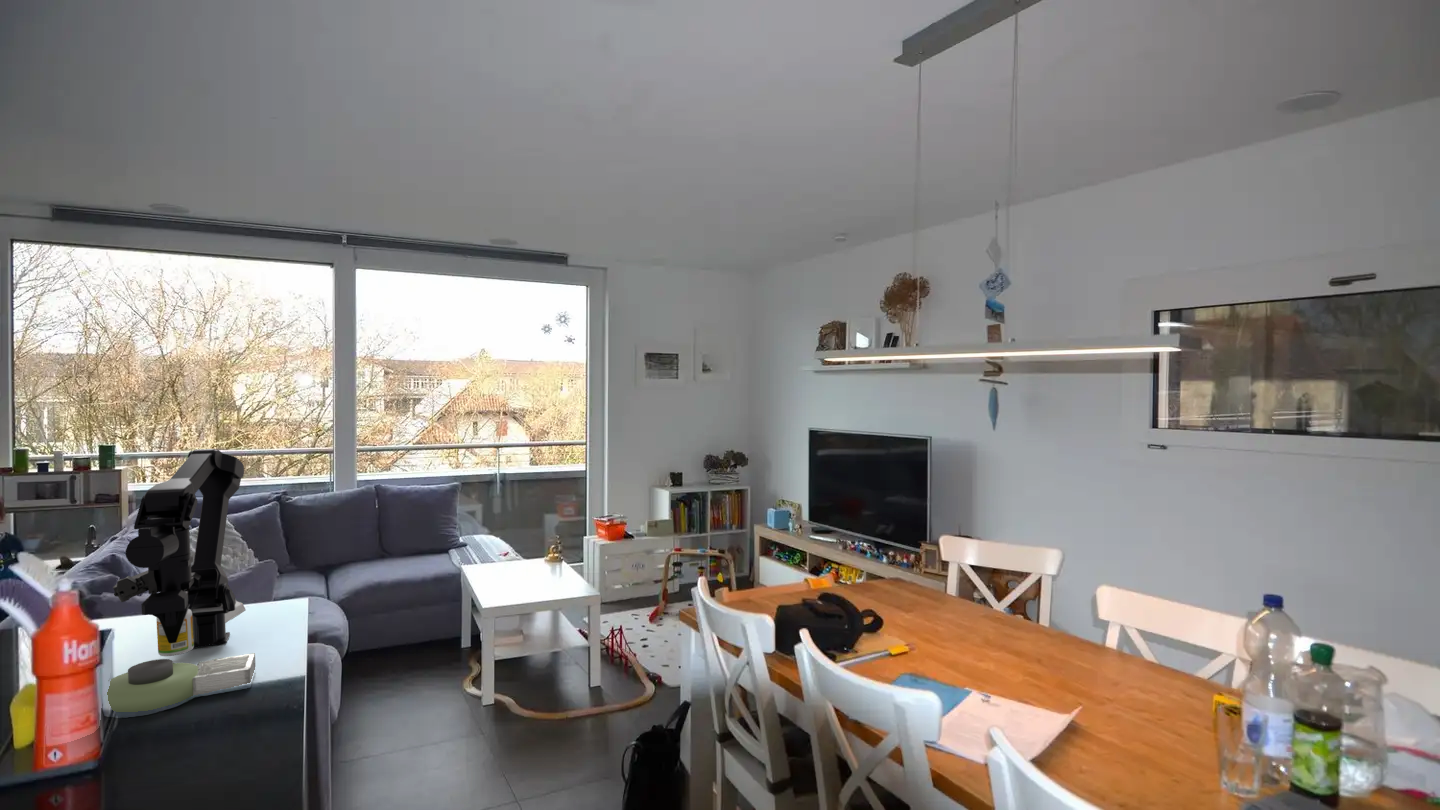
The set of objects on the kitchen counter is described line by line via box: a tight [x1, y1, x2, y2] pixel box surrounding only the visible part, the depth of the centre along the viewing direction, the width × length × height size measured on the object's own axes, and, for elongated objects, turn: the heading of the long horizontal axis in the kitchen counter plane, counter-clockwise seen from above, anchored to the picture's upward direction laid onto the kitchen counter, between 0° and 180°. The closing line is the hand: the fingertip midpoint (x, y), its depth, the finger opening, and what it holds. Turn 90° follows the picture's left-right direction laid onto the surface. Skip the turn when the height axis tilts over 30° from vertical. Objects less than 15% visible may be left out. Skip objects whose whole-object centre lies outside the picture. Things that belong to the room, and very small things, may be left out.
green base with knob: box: [107, 658, 198, 712], centre depth 126 cm, size 13×13×6 cm
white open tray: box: [192, 652, 256, 695], centre depth 132 cm, size 9×9×4 cm
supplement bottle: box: [156, 609, 194, 657], centre depth 140 cm, size 5×5×10 cm
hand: (175, 638), depth 140 cm, fingers closed on supplement bottle, 5 cm apart
